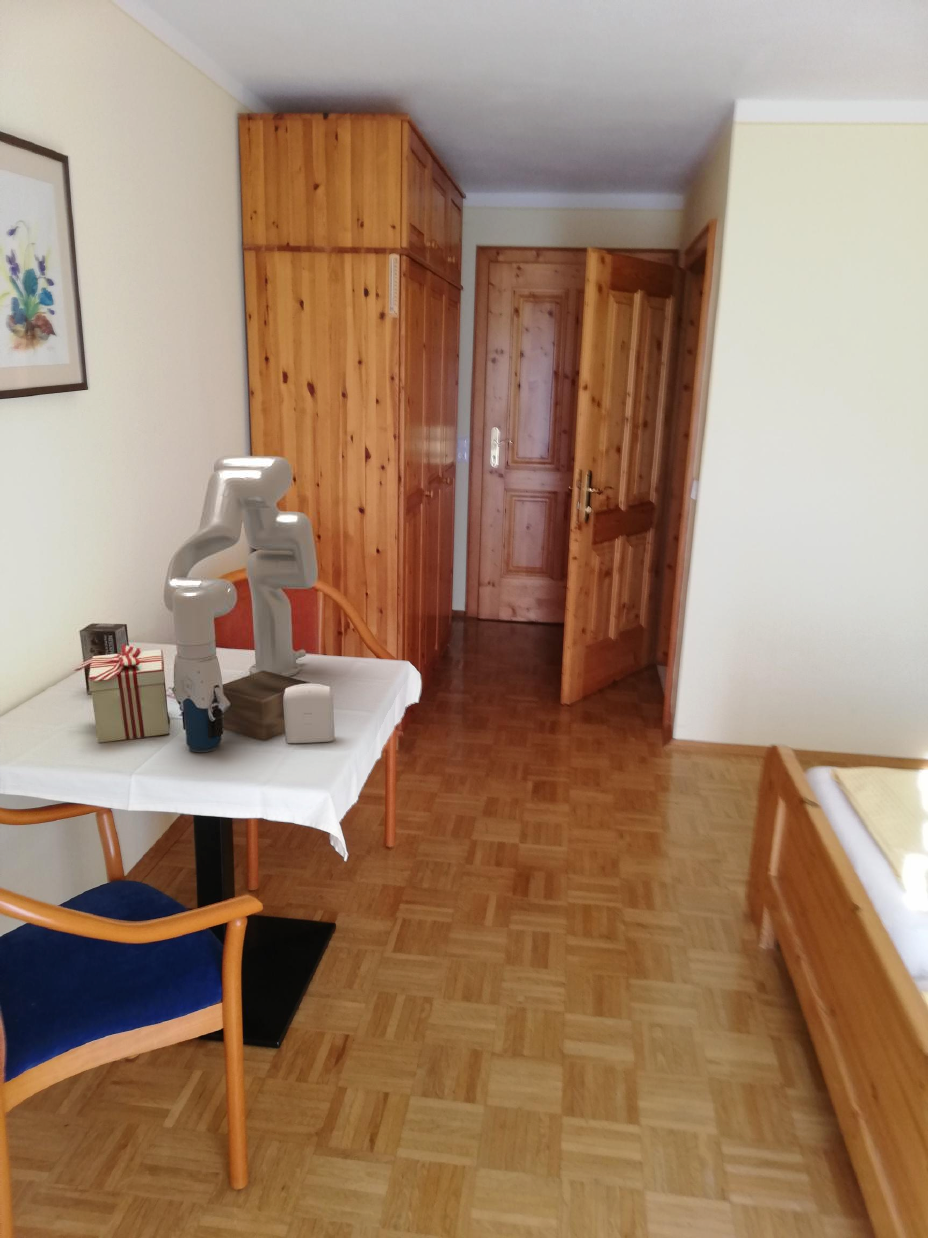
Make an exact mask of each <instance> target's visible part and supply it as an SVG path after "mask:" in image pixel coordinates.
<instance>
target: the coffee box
mask: <svg viewBox="0 0 928 1238" xmlns="http://www.w3.org/2000/svg"><path fill="white" fill-rule="evenodd" d="M128 634H129V633H128V624H126V623H90V624H88V625H86V626H85V627H83V628H82V629H80V630H79V639H80V646H81V654H82V664H83V663H84V662H86V661H87V660H89V659H92V656H100V655H110V654H118V653H122V646H123V645H127V646H130V643H129V636H128ZM83 670H84V671H83V672H84V680H85V686H86V687H85V689H86V695H91V696H92V692H90V691H89V682H88V677H89V670H90V665H88V666H86V667H84V668H83Z"/></svg>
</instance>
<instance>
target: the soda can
mask: <svg viewBox="0 0 928 1238" xmlns="http://www.w3.org/2000/svg"><path fill="white" fill-rule="evenodd" d="M188 697H189V698H186V699H185V700H184V701H183V709H184V721H185V730H184V732H185V741H186V742H185V743H186V745H187V747H189V749H190V750H191V751H192V752H195V753H207V752H211V751H214V750H216V749H217V748H219V746H220V744H221V742H222V735H220V736H218V737H216V738H213V739H210V738H209V731H208V720H210V718H209V715H208V713H207V711H206V709H201V708H198V707H196V705H195V703H194V702H193V701H192V700H191V699H190V696H188ZM213 703H216V702H215V699H213V702H212V704H213ZM212 710H213V712H215V711H216V706H214V707H212Z"/></svg>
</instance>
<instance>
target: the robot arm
mask: <svg viewBox="0 0 928 1238" xmlns="http://www.w3.org/2000/svg"><path fill="white" fill-rule="evenodd" d="M292 482H293V469H292V465H291V463H290V462H289V461H288V460H287V459H286V458H284V457H281V456H275V455H273V456H272V455H271V456H270V455H269V456H267V455H266V456H263V455H223V456H221V457H218V459H216V460H215V462H214V464H213V472H212V474H211V475H210V477H209V478H208V483H207V488H206V492H205V497H204V503H203V507H202V512H201V517H200V522H199V526H198V530H197V531H196V532H195V533H194V534H192V535H191V536H190V537H188V539H186V540H185V541H184V543H182V544H181V546H180V547H179V548H178V549H177V551H176V552H174V554H173V556H172V557H171V560H170V562H169V565H168V568H167V572H166V577H165V582H164V588H163V602H164V604H165V607H166V609H167V610H168V611H169V612H171V613H172V614H173V623H174V634H175V635H174V636H175V645H176V646H175V647H176V654H174V655H175V656H174V662H173V663H174V664H173V687H172V688H171V691H172V694H173V695H174V698H175V699H176V702H177V703H178V705H179V706H178V707H179V711H180V712H181V715H182V716H181V717H182V718H181V719H182V727H183V730H184V731H185V721H184V709H183V701H184V700H185V699H186V698H189V697H188V696H190V699H191V700H192V701H193V702H194V703H195V705H196V707H198V708H201V709H206V711H207V713H208V715H209V718H210V720H208V731H209V738H210V739H213V738H216V737H218V736H220V735H221V736H222V735H224V728H223V725H222V717H223V716H224V714H225V713H226V711H227V709H228V708H229V706H230V702H229V701H228V700H227V698H226V697H225V696H224V694H223V675H222V671H221V667H220V662H219V658H218V656H217V646H216V644H217V643H216V633H215V632H216V631H215V618H220V617H222V616H225V615H227V614H229V613H230V612H231V611H232V610H233V609H234V607H235V606H236V603H237V602H238V601H237V600H238V591H237V588H236V587H235V584H234V583H232V582H231V581H230V580H228V579H224V578H211V577H210V578H209V577H208V578H205V577H188V576H189V573H190V572H191V570H192V569H193V567H195V566H196V565H197V564H198V563H199V562H201V561H202V560H204V559H206V558H208V557H210V556H212V555H215V554H217V553H220V552H222V551H224V550H227V549H229V548H231V547H233V546H235V545H236V544H237V543H238V542H239V541H240V537H241V532H242V527H243V528H244V533H245V537H246V541H247V543H248V545H249V546H250V548H253V549H254V550H256V551H253V552H251V553H250V554H249V555H248V557H247V559H246V560H245V561H246V563H245V571H246V577H247V580H248V585H249V590H250V595H251V608H252V625H253V626H252V629H253V641H254V643H253V644H254V658H255V659H254V661H255V663H254V664H252V665H251V666H250V667H249V675H251V674H254V673H257V672H259V671H262V670H264V671H268V672H272V673H276V674H280V675H284V676H288V677H293V676H295V675H296V674H298V673H299V672H300V671H301V667H300V666H301V665H300V664H299V663H298V662H297V660H299V659H301V658H305V657H306V654H307V652H306V650H305V649H300V650H297V651H295V650H294V649H293V625H292V606H291V602H290V599H289V597H288V596H287V594H286V593H285V592H284V591H283V589H285V590H286V589H292V590H304V589H305V590H307V589H311V588H312V587H314V586H315V585H316V583H317V581H318V576H319V575H318V573H319V569H318V568H319V567H318V562H317V561H318V560H317V554H316V552H317V551H316V546H315V545H316V544H315V539H314V538H315V537H314V533H313V532H314V531H313V527H312V523H311V521H310V518H309V517H308V516H307V515H306V514H305V513H303V512H300V511H283V510H280V509H279V507H278V506H277V505H278V504H277V503H278V502H279V501H280V500H281V499H282V498H283V497H284V496H285V495H286V494H287V493H288V492H289V490H290V488H291V485H292ZM242 525H243V526H242ZM213 699H215V702H216V703H213V704H212V702H213ZM214 706H216V711H215V712H213V710H212V707H214Z"/></svg>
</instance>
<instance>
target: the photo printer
mask: <svg viewBox="0 0 928 1238" xmlns="http://www.w3.org/2000/svg"><path fill="white" fill-rule="evenodd" d="M283 707H284V722H285V732H284V734H285V742H286V743H287V744H306V743H308V744H309V743H325V742H326V743H328V742H332V741H334V740H335V738H336V736H335V735H336V734H335V716H334V715H335V714H334V697H333V693H332V691H331V687H330V686H328V685H325V684H319V683H310V684H299V685H295V686H291V687H288V688H286V689H285V693H284V698H283Z"/></svg>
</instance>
